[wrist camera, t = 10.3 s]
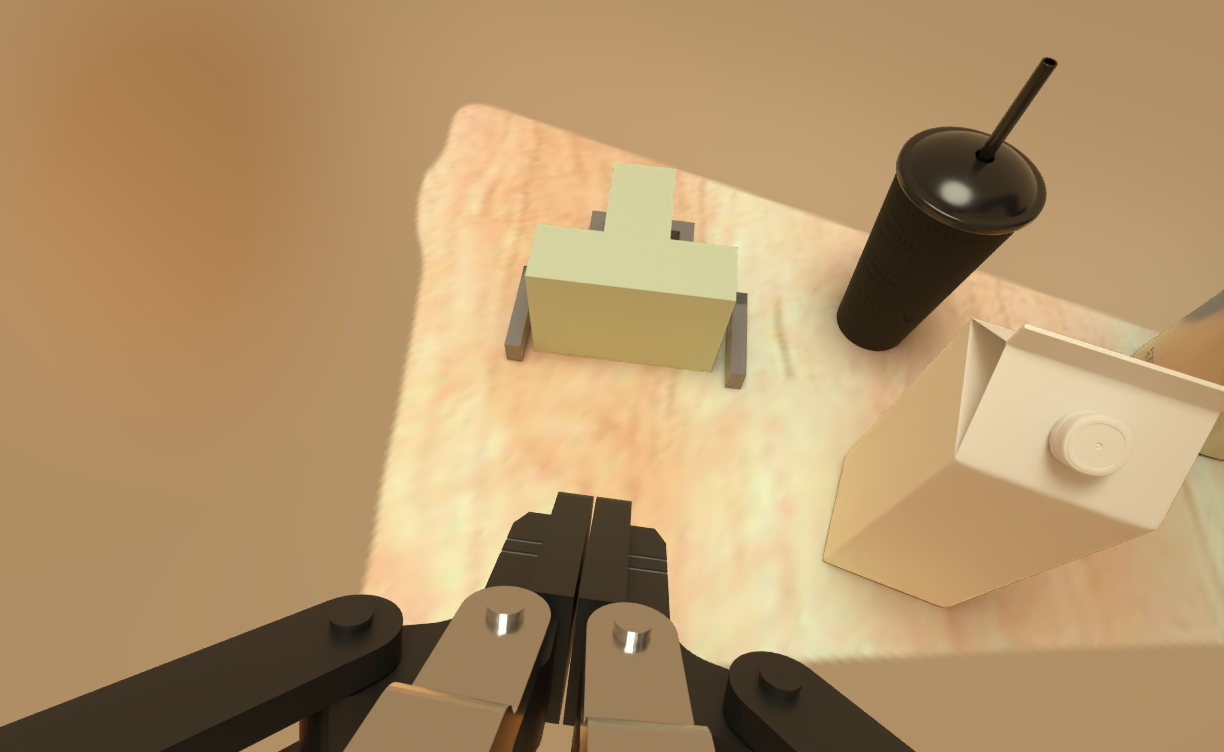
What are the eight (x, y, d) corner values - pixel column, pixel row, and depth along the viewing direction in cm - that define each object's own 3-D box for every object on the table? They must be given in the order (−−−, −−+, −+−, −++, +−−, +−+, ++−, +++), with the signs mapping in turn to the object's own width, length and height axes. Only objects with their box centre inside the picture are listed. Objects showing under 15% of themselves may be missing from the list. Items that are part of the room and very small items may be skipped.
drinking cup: (798, 331, 44) (936, 69, 27) (844, 264, 48) (994, -8, 30) (898, 388, 42) (1117, 145, 25) (940, 314, 46) (1158, 54, 28)
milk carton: (843, 455, 40) (1029, 253, 23) (958, 496, 39) (1236, 314, 22) (820, 561, 36) (1019, 411, 20) (945, 609, 35) (1262, 493, 19)
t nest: (743, 246, 48) (748, 229, 47) (740, 388, 42) (746, 375, 40) (540, 221, 49) (539, 203, 47) (507, 359, 42) (504, 344, 41)
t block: (715, 258, 47) (738, 176, 41) (710, 372, 42) (736, 301, 36) (557, 239, 48) (553, 154, 41) (533, 351, 43) (524, 275, 36)
